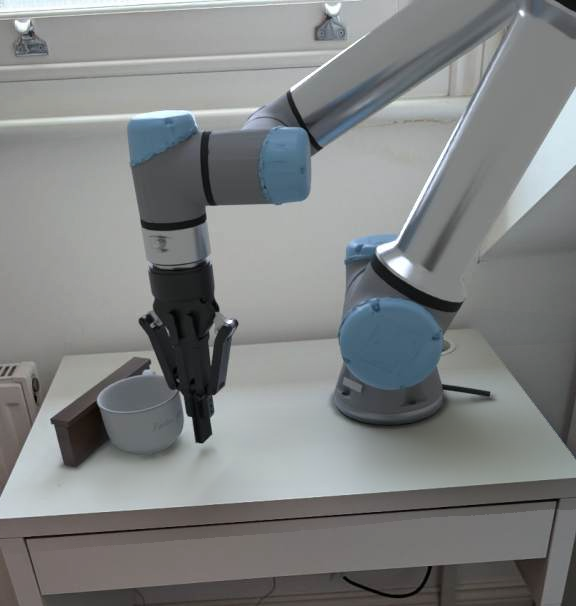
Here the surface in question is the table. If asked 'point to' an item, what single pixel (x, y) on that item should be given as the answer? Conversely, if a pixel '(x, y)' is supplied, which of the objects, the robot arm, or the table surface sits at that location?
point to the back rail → (89, 417)
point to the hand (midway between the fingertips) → (203, 438)
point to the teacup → (142, 413)
